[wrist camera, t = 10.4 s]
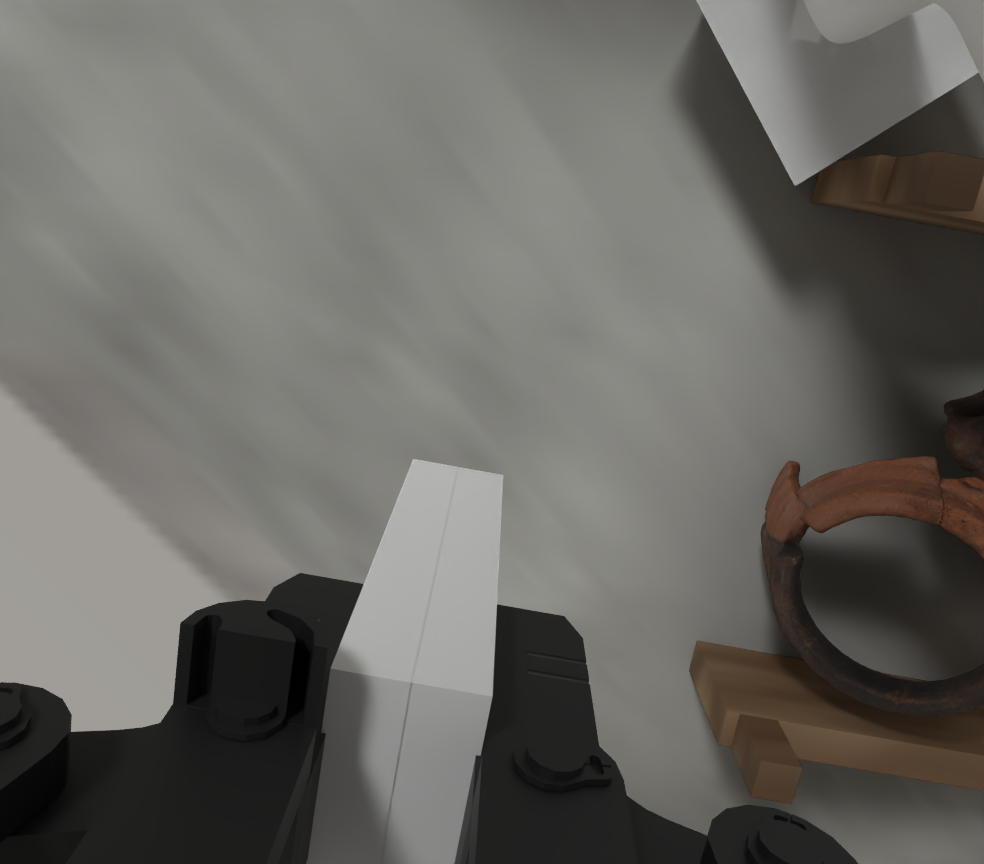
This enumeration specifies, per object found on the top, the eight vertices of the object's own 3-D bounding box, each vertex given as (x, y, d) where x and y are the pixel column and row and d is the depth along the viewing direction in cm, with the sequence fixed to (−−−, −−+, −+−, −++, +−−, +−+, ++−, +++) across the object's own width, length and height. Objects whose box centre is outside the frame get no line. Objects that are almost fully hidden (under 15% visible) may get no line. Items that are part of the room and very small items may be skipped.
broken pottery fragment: (1007, 650, 32) (994, 801, 25) (762, 536, 36) (695, 642, 29) (1199, 357, 26) (1247, 454, 20) (882, 254, 30) (833, 308, 23)
